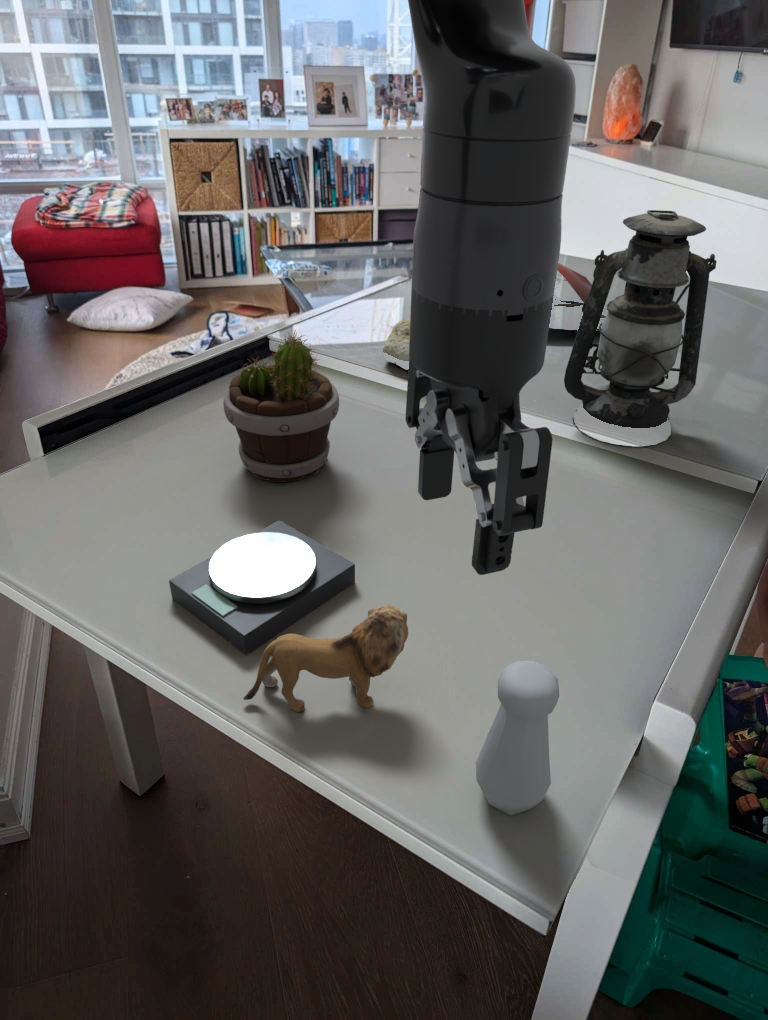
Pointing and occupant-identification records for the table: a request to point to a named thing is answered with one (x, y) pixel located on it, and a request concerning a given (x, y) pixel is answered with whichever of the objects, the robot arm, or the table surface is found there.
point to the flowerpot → (282, 414)
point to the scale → (264, 620)
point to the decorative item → (399, 341)
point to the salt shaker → (519, 739)
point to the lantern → (642, 323)
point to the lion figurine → (336, 656)
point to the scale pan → (262, 567)
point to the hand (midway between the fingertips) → (460, 530)
